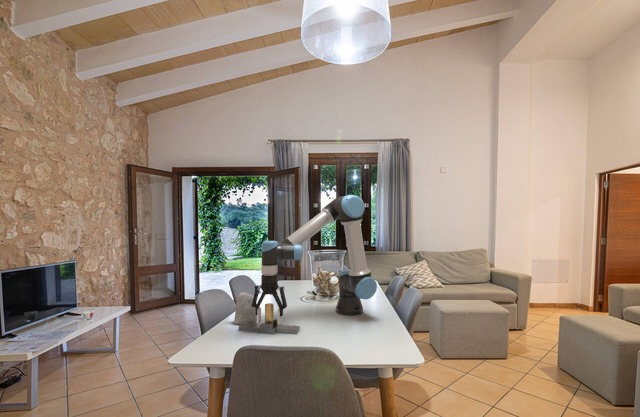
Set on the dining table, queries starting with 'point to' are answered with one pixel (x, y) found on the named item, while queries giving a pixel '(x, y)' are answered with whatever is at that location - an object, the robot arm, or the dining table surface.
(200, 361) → the dining table surface
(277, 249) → the robot arm
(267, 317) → the link pin
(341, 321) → the dining table surface
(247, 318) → the decorative stone
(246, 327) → the link plates
